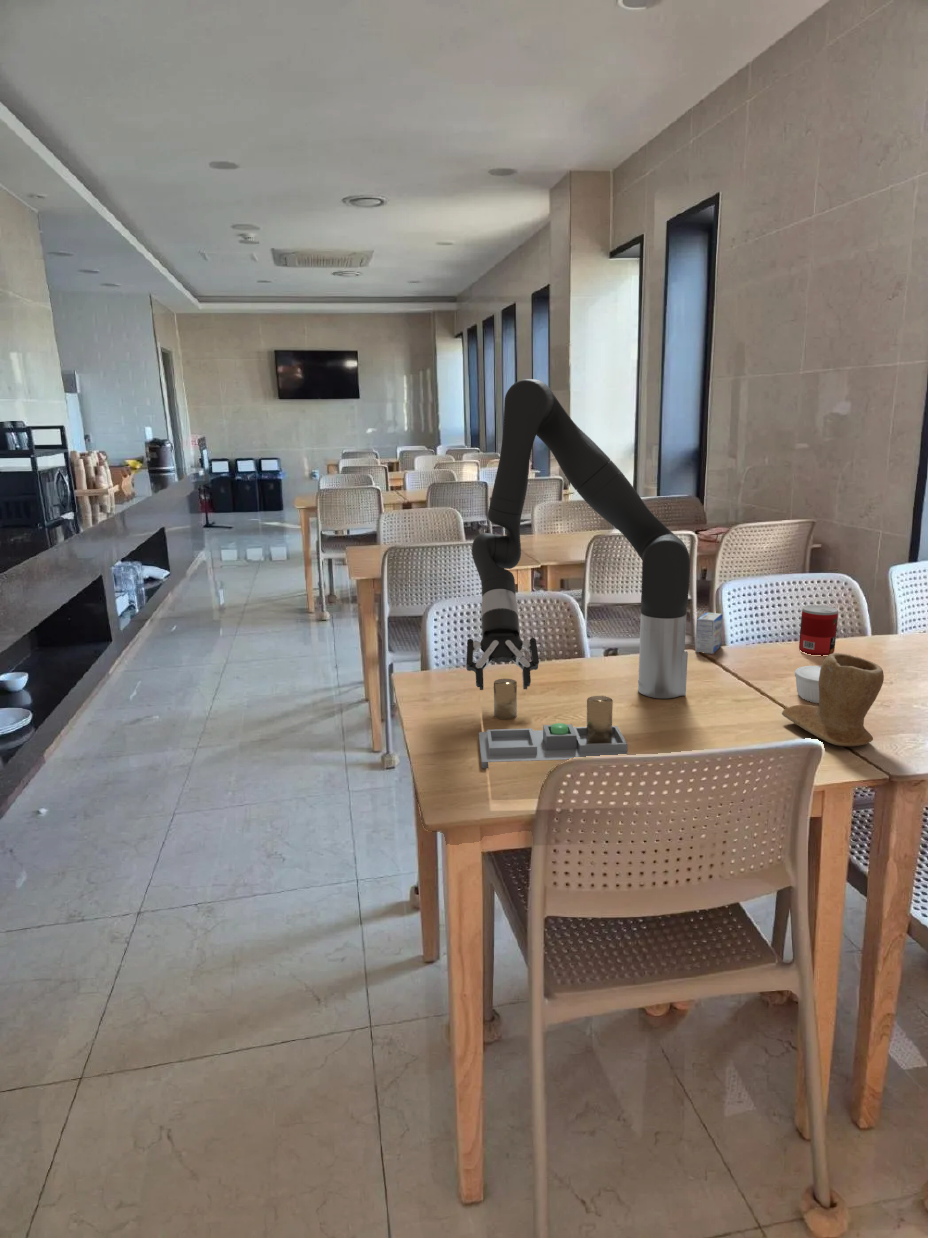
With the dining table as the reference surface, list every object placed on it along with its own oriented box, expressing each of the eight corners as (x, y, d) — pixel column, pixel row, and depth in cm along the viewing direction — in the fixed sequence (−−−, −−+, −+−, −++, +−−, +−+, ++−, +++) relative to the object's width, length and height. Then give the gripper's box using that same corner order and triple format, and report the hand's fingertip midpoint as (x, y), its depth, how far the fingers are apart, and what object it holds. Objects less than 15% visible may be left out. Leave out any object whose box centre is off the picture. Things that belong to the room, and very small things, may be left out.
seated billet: (608, 737, 140) (609, 695, 138) (613, 747, 135) (615, 704, 133) (584, 738, 140) (585, 696, 138) (588, 748, 135) (589, 704, 133)
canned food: (837, 657, 186) (842, 612, 183) (802, 656, 188) (806, 612, 185) (829, 648, 193) (834, 605, 191) (795, 647, 195) (799, 604, 192)
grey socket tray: (614, 734, 144) (614, 714, 143) (630, 764, 132) (630, 743, 131) (478, 738, 144) (478, 718, 143) (481, 768, 131) (481, 747, 130)
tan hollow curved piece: (891, 747, 136) (901, 665, 132) (831, 754, 133) (839, 671, 130) (834, 716, 150) (841, 641, 147) (779, 722, 148) (785, 646, 144)
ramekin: (860, 696, 161) (863, 672, 159) (841, 711, 153) (844, 686, 151) (804, 685, 168) (807, 661, 167) (784, 698, 160) (786, 674, 159)
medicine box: (712, 654, 191) (714, 620, 189) (694, 652, 193) (696, 618, 191) (721, 646, 197) (723, 613, 195) (703, 644, 199) (705, 611, 197)
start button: (566, 735, 139) (566, 723, 138) (569, 742, 136) (569, 729, 135) (549, 736, 139) (549, 723, 138) (552, 742, 136) (552, 730, 135)
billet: (515, 716, 154) (515, 678, 152) (517, 725, 150) (517, 685, 148) (493, 717, 154) (493, 679, 152) (495, 725, 150) (494, 686, 148)
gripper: (465, 607, 156) (467, 680, 148) (536, 606, 156) (542, 678, 148) (465, 626, 162) (466, 697, 154) (533, 625, 163) (538, 695, 154)
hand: (503, 688), depth 151 cm, fingers open, 8 cm apart
